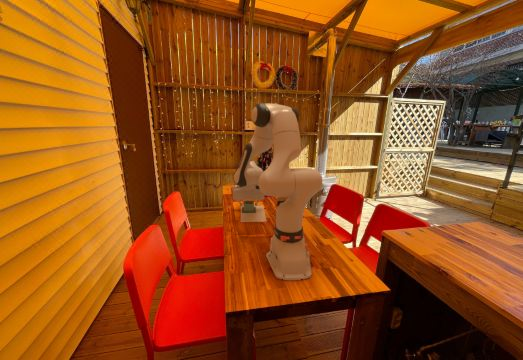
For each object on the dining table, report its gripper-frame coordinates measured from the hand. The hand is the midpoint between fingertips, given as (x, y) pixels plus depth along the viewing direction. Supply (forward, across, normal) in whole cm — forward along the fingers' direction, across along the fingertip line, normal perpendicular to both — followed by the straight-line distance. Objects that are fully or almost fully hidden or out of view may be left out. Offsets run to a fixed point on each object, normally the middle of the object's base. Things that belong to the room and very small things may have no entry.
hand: (248, 205), depth 137 cm
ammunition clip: (+5, +24, +7) cm, 26 cm away
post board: (+4, +2, -5) cm, 7 cm away
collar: (+3, 0, 0) cm, 3 cm away
